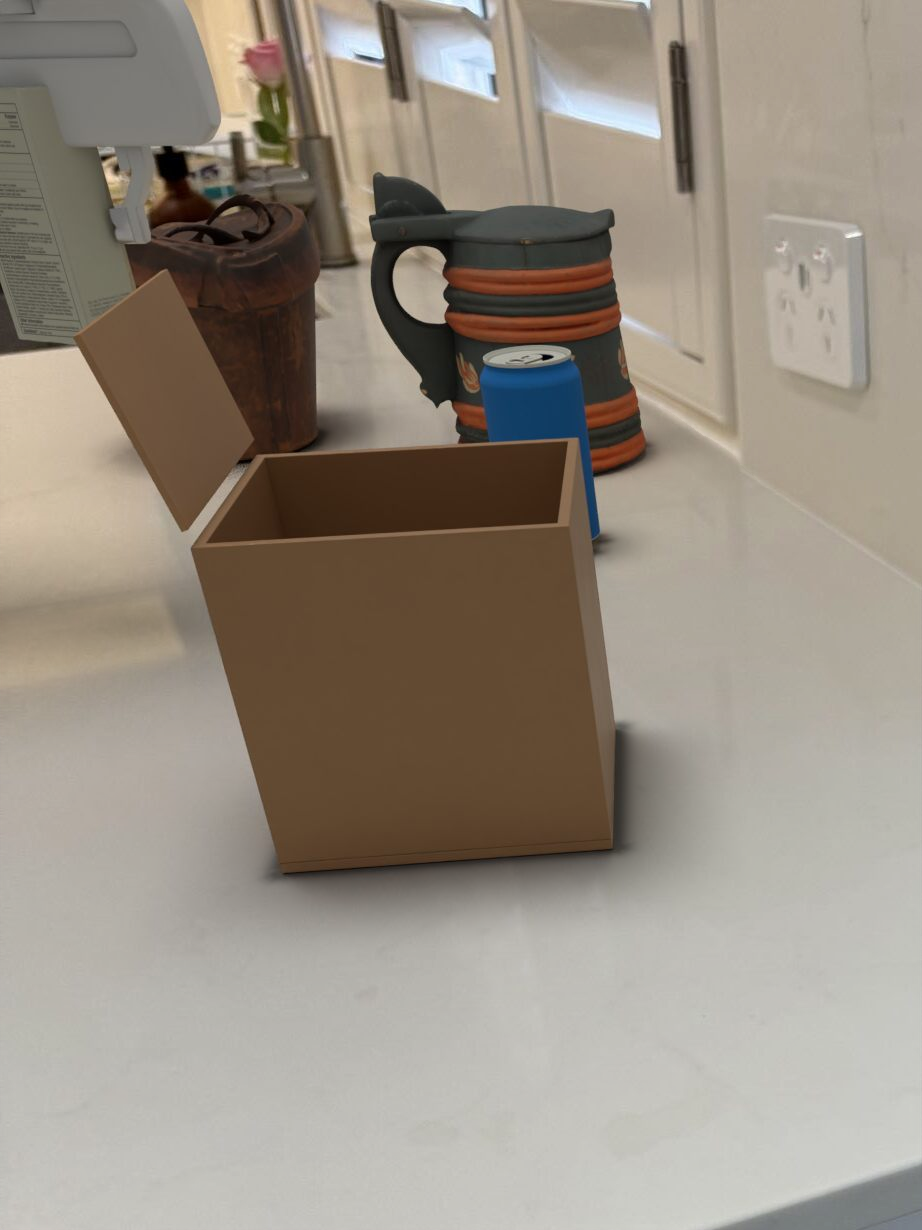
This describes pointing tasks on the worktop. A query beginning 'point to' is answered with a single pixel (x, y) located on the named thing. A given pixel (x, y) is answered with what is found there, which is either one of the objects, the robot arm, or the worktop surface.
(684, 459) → the worktop surface
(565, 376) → the beverage can
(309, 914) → the worktop surface
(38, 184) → the cosmetic box
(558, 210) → the beer stein
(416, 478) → the carton
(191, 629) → the worktop surface
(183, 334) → the flap
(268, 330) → the brown plant pot
